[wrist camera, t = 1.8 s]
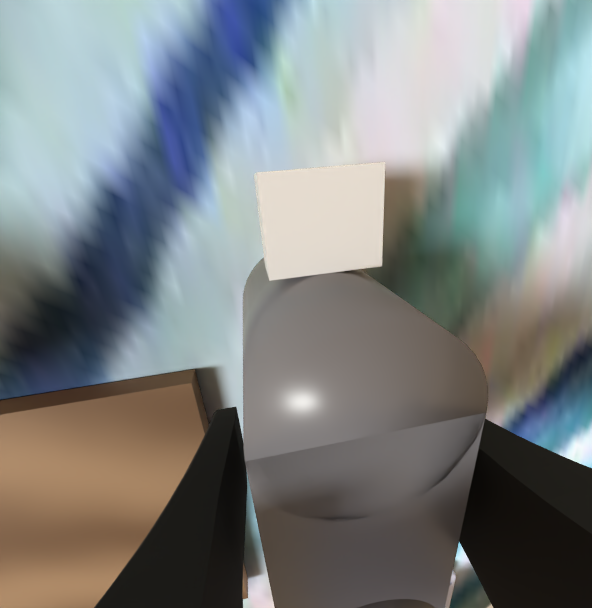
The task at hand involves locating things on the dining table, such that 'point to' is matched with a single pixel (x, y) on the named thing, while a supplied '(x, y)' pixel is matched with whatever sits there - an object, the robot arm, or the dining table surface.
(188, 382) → the walnut board
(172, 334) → the dining table surface
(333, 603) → the grey rounded piece
